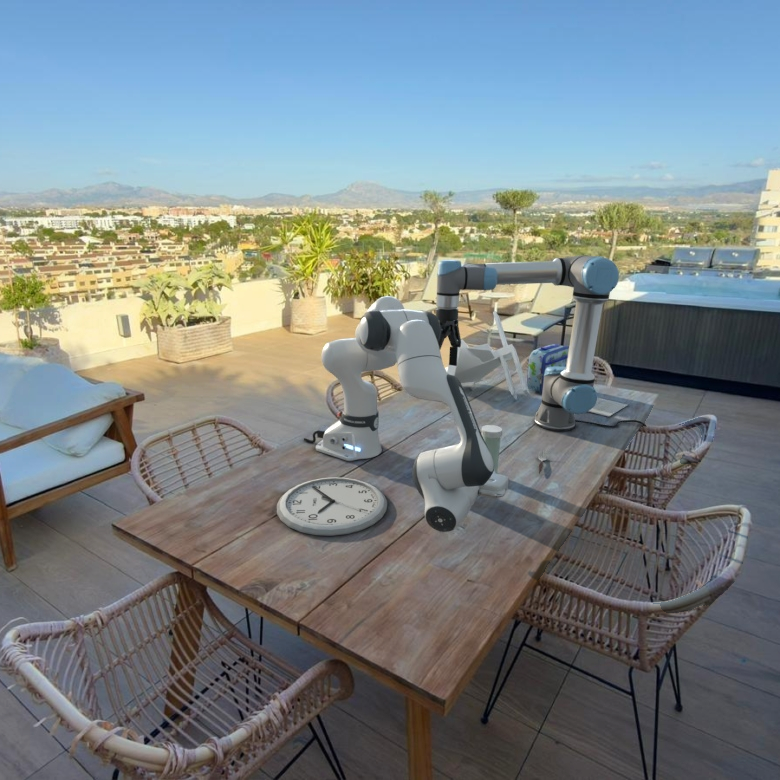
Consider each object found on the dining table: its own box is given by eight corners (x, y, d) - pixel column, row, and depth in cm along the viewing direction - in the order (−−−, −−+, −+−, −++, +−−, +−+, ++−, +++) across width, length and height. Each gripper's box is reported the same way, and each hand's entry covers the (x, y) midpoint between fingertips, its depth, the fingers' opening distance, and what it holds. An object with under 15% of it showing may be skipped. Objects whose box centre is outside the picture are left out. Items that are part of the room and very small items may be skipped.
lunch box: (543, 396, 238) (548, 352, 231) (522, 391, 245) (526, 347, 239) (570, 385, 255) (575, 343, 249) (550, 381, 262) (555, 340, 256)
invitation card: (608, 416, 214) (573, 407, 224) (608, 416, 214) (573, 408, 224) (628, 404, 229) (594, 396, 238) (628, 405, 229) (594, 397, 238)
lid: (479, 436, 156) (479, 430, 155) (483, 429, 161) (483, 423, 160) (499, 439, 153) (500, 433, 153) (503, 432, 159) (504, 426, 158)
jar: (477, 478, 160) (481, 431, 155) (481, 470, 165) (484, 425, 160) (495, 481, 158) (499, 434, 154) (498, 474, 163) (502, 428, 158)
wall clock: (392, 527, 129) (268, 531, 127) (391, 533, 130) (269, 537, 127) (383, 473, 158) (282, 475, 155) (383, 478, 158) (282, 480, 156)
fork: (534, 474, 163) (535, 468, 162) (539, 454, 177) (539, 449, 176) (543, 475, 162) (544, 469, 161) (547, 455, 176) (547, 450, 175)
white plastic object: (461, 429, 252) (437, 405, 227) (444, 352, 274) (420, 323, 250) (535, 404, 240) (518, 377, 215) (510, 326, 262) (492, 293, 237)
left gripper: (503, 486, 123) (514, 463, 136) (422, 470, 131) (439, 450, 143) (501, 509, 125) (512, 485, 137) (421, 493, 133) (438, 471, 145)
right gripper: (453, 302, 186) (450, 360, 193) (419, 311, 166) (416, 375, 172) (472, 304, 182) (469, 363, 189) (440, 313, 162) (437, 379, 169)
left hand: (474, 467), depth 140 cm, fingers open, 8 cm apart
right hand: (444, 369), depth 181 cm, fingers open, 13 cm apart
